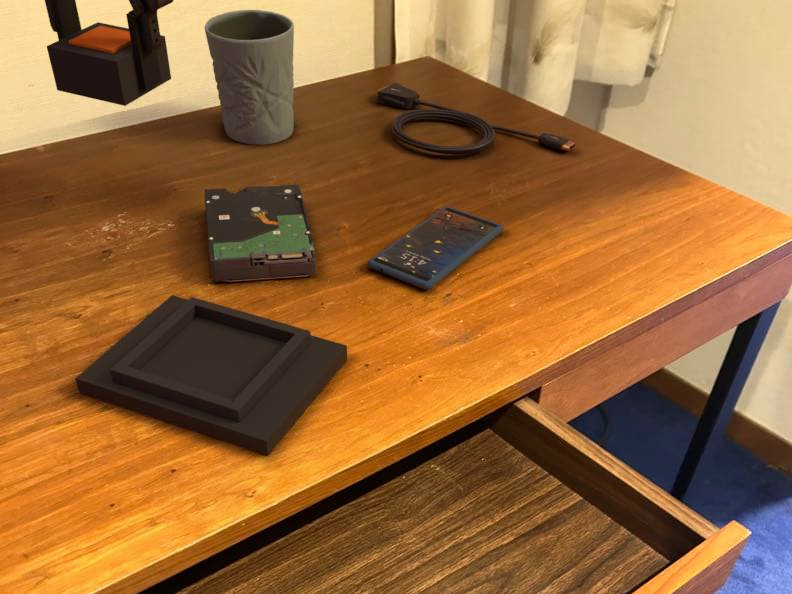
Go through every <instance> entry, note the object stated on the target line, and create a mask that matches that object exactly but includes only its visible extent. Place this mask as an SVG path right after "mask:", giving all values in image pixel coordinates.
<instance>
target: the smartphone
mask: <svg viewBox="0 0 792 594" xmlns="http://www.w3.org/2000/svg"><path fill="white" fill-rule="evenodd" d="M503 231H504V226H503V225H502V224H500V223H497V222H493V221H491V220H488V219H485V218H482V217H479V216H477V215H474V214H471V213H470V212H469V213H468V212H465V211H462V210H460V209H457V208H454V207H451V206H448V205H447V206H443V207H442V208H440V209H439V210H437V211H436V212H435V213H433V214H432V215H431V216H429V217H428V218H426V219H425V220H424V221H422V222H421V223H419V224H418V225H417V226H415V227H414V228H412V229H411V230H410V231H408V232H406V233H405V234H404V235H402V236H401V237H400V238H398V239H396V241H394V242H393V243H391V244H389V245H388V246H387V247H386V248H384V249H383V250H381V251H379V252H378V253H376V255H374V256H373V257H371V258H370V259H368V261H367V267H368V268H370V269H372V270H375V271H377V272H380V273H382V274H384V275H387V276H390V277H392V278H395V279H397V280H400V281H401V282H402V281H403V282H405V283H407V284H410V285H413V286H415V287H417V288H420V289H423V290H426V291H427V290H431V289H432V288H433V287H435V286H436V285H437V284H439V282H441V281H442V280H443V279H445V278H446V277H447V276H448V275H450V274H451V273H452V272H453V271H455V270H456V269H457V268H459V267H460V266H461V265H462V264H464V262H466V261H467V260H469V259H470V258H471V257H473V256H474V255H475V254H476V253H477V252H479V251H481V249H482V248H484V247H485V246H487V244H489V243H490V242H491V241H493V240H494V239H495V238H496V237H497V236H499V235H500V234H501V233H502V232H503Z"/></svg>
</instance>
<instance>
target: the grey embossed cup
mask: <svg viewBox="0 0 792 594" xmlns="http://www.w3.org/2000/svg"><path fill="white" fill-rule="evenodd" d="M204 33H205V37H206V41H207V46H208V50H209V55H210V58H211V60H212V69H213V70H212V71H213V75H214V80H215V82H216V90H217V93H218V100H219V106H220V109H221V114H222V121H223V122H222V123H223V127H224V132H225V133H226V135H227V136H228V138H229V139H231V140H233V141H235V142H239V143H241V144H247V145H255V146H256V145H257V146H258V145H271V144H275V143H279V142H283V141H285V140H287V139H288V138H290V137H291V136H292V135H293V132H294V127H295V116H294V115H295V113H294V110H293V109H294V108H293V106H294V103H295V101H294V96H295V93H294V87H295V85H294V83H295V81H294V43H295V42H294V37H295V24H294V22H293V21H292V19H290V17H288V16H286V15H284V14H281V13H278V12H274V11H269V10H260V9H239V10H233V11H232V10H231V11H228V12H223V13H220V14H217V15H215V16H212V17H211V18H209V19H208V20H207V21H206V23H205V24H204Z"/></svg>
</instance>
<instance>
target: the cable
mask: <svg viewBox="0 0 792 594" xmlns="http://www.w3.org/2000/svg"><path fill="white" fill-rule="evenodd" d="M376 98H377V104H380V105H385V106H390V107H395V108H398V109H399V108H400V109H403V110H409V111H405V112H402V113H401V114H399V115H397V116H396V117H395V118H394V119H393V123H392V125H391V133H392V134H393V135H394V137H395V138H396V139H398V140H399V141H400V142H402V143H404V144H406V145H408V146H410V147H413V148H415V149H419V150H423V151H426V152H431V153H435V154H443V155H469V154H474V153H479V152H481V151H484V150H486V149H488V148H489V147H490V146H491V145H492V144H493V141H494V140H495V136H496V133H495V130H496V131H501V132H505V133H510V134H514V135H518V136H522V137H526V138H530V139H534V140H538V143H540V144H541V145H544V146H545V147H549V148H552V149H556V150H558V151H567V152H570V151H571V150H573V149H574V148H575V147H576V142H574V141H570V140H569V139H568V138H566V137H562V136H559V135H557V134H556V135H555V134H551V133H547V132H542V133H541V134H540V135H537V134H533V133H529V132H525V131H521V130H516V129H512V128H508V127H505V126H498V125H493V124H490V123H489V122H487V121H486V120H485V119H483V118H482V117H479V116H477V115H475V114H472V113H468V112H464V111H460V110H457V109H453V108H450V107H447V106H442V105H438V104H435V103H431V102H427V101H422V100H421V99H420V94H418V92H417V91H415V90H413V89H410V88H408V87H405V86H403V85H401V84H400V83H397V82H393V83H392V84H390V85H386V86H384V87H382V88H380V89H378V90H377V91H376ZM417 106H424V107H428V108H420V109H415V108H416V107H417ZM418 119H439V120H440V119H441V120H446V121H451V122H456V123H460V124H462V125H466V126H471V127H473V128H475V129H476V130H478V131H479V132H480V133H481V134H482V137H483V138H482V139H480V141H478V142H476V143H472V144H469V145H468V144H467V145H458V146H457V145H456V146H451V145H450V146H449V145H438V144H433V143H428V142H424V141H421V140H418V139H416V138H413V137H412V136H409V135H408V134H406V133H405V132H404V131H403V130H402V127H403V125H404V124H406V123H408V122H410V121H413V120H418Z"/></svg>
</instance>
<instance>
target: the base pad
mask: <svg viewBox="0 0 792 594" xmlns="http://www.w3.org/2000/svg"><path fill="white" fill-rule="evenodd" d="M347 361H348V345H346V344H344V343H340V342H335V341H333V340H329V339H325V338H322V337H320V336H319V337H318V336H315V335H312V334H311V331H310V330H308V329H304V328H300V327H297V326H294V325H292V324H289V323H288V324H287V323H285V322H280V321H277V320H274V319H271V318H267V317H263V316H260V315H256V314H253V313H248V312H247V311H242V310H239V309H236V308H232V307H228V306H224V305H222V304H218V303H214V302H211V301H208V300H204V299H200V298H198V297H194V296H190V298H189V299H188V298H185V297H181V296H177V295H174V294H171V295H170V296H169V297H168V298H167V299H165V301H163V302H162V303H161V304H160V305H158V306H157V307H156V308H155V309H154V310H153V311H152V312H150V314H148V315H147V316H145V317H144V318H143V319H142V320H141V321H140V322H139V323H137V324H136V325H135V326H134V327H133V328H132V329H131V330H130V331H128V332H127V333H125V334H124V336H122V337H121V338H120V339H119V340H118V341H117V342H116V343H114V344H113V345H112V346H111V347H110V348H108V349H107V350H106V351H105V352H104V353H103V354H102V355H100V356H99V357H98V358H97V359H96V360H94V361H93V362H92V363H91V364H89V365H88V366H87V367H86V368H85V369H84V370H83V371H81V373H79V374H78V375H77V376H76V377H75V378H74V379H75V383H76V387H77V389H78V392H79V393H80V394H83V395H85V396H89V397H92V398H94V399H98V400H101V401H104V402H106V403H109V404H113V405H116V406H118V407H122V408H124V409H127V410H130V411H134V412H137V413H139V414H143V415H145V416H149V417H152V418H154V419H157V420H161V421H163V422H167V423H169V424H173V425H175V426H179V427H182V428H185V429H188V430H191V431H192V432H193V431H194V432H195V433H196V432H197V433H198V434H199V433H200V434H203V435H205V436H208V437H211V438H214V439H218V440H221V441H223V442H227V443H230V444H232V445H236V446H238V447H242V448H245V449H248V450H251V451H253V452H257V453H259V454H263V455H266V456H269V455H270V454H271V453H272V451H274V449H275V448H276V447H277V446H278V444H279V443H280V442H281V440H283V438H284V437H285V436H286V435H287V434H288V432H289V431H290V430H291V428H292V427H293V426H294V425H295V424H296V422H297V421H298V420H299V419H300V418H301V417H302V415H303V414H304V413H305V412H306V410H307V409H308V408H309V407H310V406H311V404H312V403H313V402H314V401H315V399H316V398H317V397H318V396H319V395H320V393H321V392H322V391H323V389H325V387H326V386H327V385H328V384H329V382H330V381H331V380H332V379H333V377H335V375H336V374H337V373H338V372H339V370H340V369H341V368H342V367H343V365H345V363H346V362H347Z"/></svg>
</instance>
